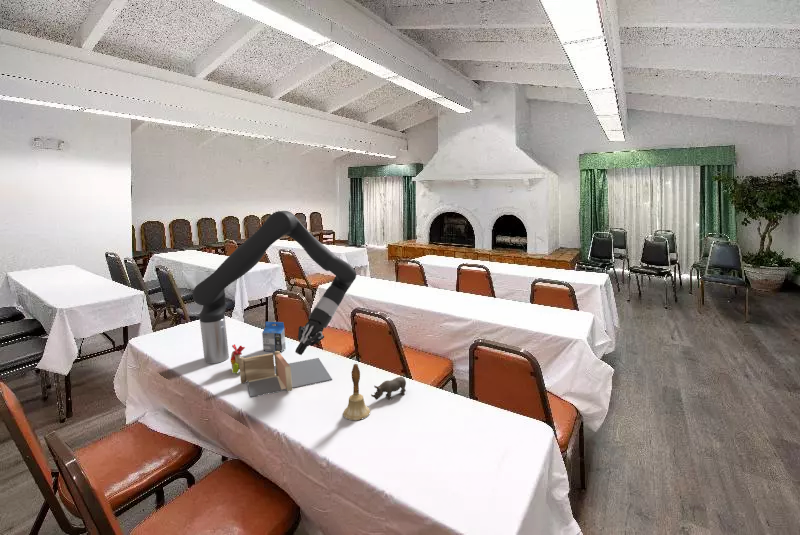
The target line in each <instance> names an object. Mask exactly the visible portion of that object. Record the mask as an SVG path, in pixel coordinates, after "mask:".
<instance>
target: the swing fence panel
mask: <svg viewBox="0 0 800 535" xmlns="http://www.w3.org/2000/svg"><path fill="white" fill-rule="evenodd" d="M276 357H277V365H278V376H279V378H280V379H281V381H282V382H283V384H284V385H285V387H286V388H287V390H286V391H287V392H291V391H293V388H292V379H291V366H289V364H288V363H289V362H287V361H286V359H285V358H284V357H283V355H282V354H281V353H280V354H278V355H276Z"/></svg>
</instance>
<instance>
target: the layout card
mask: <svg viewBox="0 0 800 535" xmlns="http://www.w3.org/2000/svg"><path fill="white" fill-rule="evenodd" d="M287 363H288V364H289V366H291V379H292V389H298V388H301V387H306V385H307V386H311V385H315V383H316V384H320V382H321V383H324V382H329V380H330V381H333V378H332V376H331V375H330V373H329V372H328V370H327V369H326V367H325V366H324V364H323V363H322V361H321V359H320V357H314V358H310V359H306V360H300V361H294V362H287ZM274 369H275V376H270V377H265V378H260V379H255V380H250V381H247V385H248V390H249V396H250V398H254V396H255V397H259V396H258V395H260V396H264V395H268V393H269V394H273V392H274V393H278V392H283V391H287V388H286V387H285V385H284V384H283V382H282V381H281V379H280V378H279V376H276V366H275V365H274ZM310 384H311V385H310ZM263 394H264V395H263Z"/></svg>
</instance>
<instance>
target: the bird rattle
mask: <svg viewBox="0 0 800 535" xmlns="http://www.w3.org/2000/svg"><path fill="white" fill-rule="evenodd" d="M231 347H232V348H233V349H234V350H233V351H232V353H231V356H230V364H231V369H232V370H231V371H232V372H231V373H232V374H235V375H237V374H238V372H240V368H239V358H240V357H241V356H242V355H243V353H242V351H244V349H245V348H246V347H245V346H243V345H239V346H238V348H237V346H236V344H232V346H231Z"/></svg>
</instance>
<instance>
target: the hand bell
mask: <svg viewBox="0 0 800 535" xmlns="http://www.w3.org/2000/svg"><path fill="white" fill-rule="evenodd" d="M360 379H361V372H360V368H359V364H357V363H354V364H353V366H352V369H351V380H352V381H351V382H352V383H353V384H352V385H353V388H352V389H353V391H352V392H353V393H352V394H351V395H349V398H348V403H347V407H346V408H344V411H343V413H342V416H343V417H344V419H347V420H349V419H350V420H351V421H360V419H361V420H363V419H362V418H364V419H366V418H367V416H368V415H369V416H370V414H371V410H370V408H369V407H368V406H367V405H366V403H365V399H364V395H363V394H360V388H359V385H360V384H359V383H360ZM369 413H370V414H369ZM369 416H368V417H369ZM365 417H366V418H365ZM350 420H349V421H350Z"/></svg>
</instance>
